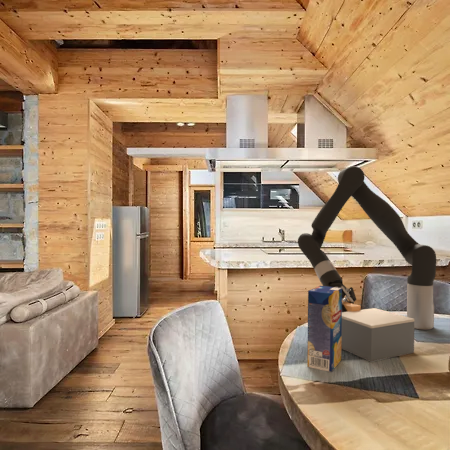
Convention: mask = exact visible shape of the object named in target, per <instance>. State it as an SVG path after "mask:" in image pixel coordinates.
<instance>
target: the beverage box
mask: <svg viewBox="0 0 450 450" xmlns="http://www.w3.org/2000/svg"><path fill="white" fill-rule="evenodd" d="M342 302H343V300H342V288H337V287H328V286H323V285H319V286H316V287H315V288H312V289H310V290H308V291H307V364H306V365H307V368H312V369H315V370H321V371H324V372H329V373H332V372H333V370H335V368H336V367H337V365H339V363H340V362H341V361H342V349H341V342H342Z"/></svg>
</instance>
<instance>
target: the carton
mask: <svg viewBox="0 0 450 450" xmlns="http://www.w3.org/2000/svg"><path fill="white" fill-rule="evenodd" d="M341 350H344V351H347V353H350V354H352V353H353V354H352V355H356V356H357V357H359V358H361V359H364V360H366V361H368V362H371V363H372V362H377V361H382V360H385V359H391V358H395V357H399V356H400V357H401V356H404V355H409V354H413V353H415V328H414V322H408V323H402V324H396V325H390V326H383V327H377V328H369V327H366V326H363V325H360V324H357V323H354V322H351V321H348V320H346V319H343V318H342V342H341Z"/></svg>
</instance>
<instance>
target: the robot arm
mask: <svg viewBox="0 0 450 450" xmlns="http://www.w3.org/2000/svg"><path fill="white" fill-rule="evenodd" d="M364 180H365V173H364V171H363V169H362V168H361V167H358V166H353V165H352V166H348V167H345V168H343V169H342V170H340V171H339V173H338V176H337V182H338V184H337V185H336V186H337V187H336V189H335V190H334V192H333V193H332V194H331V196H330V197H329V199H328V200H327V201H326V202H325V204H324V205H323V206H322V208H321V209H320V210H319V211H318V213H317V215H316V216H315V218H314V220H313V221H312V223H311V228H312V232H311V233H309V232H304V233H302V234H300V235H299V237H298V238H297V245H298V247H299V250H300V251H301V252H302V254H303V255H304V256H305V257H306V259H307V260H308V262H310V264H311V266H312V268H313V269H314V272H315V274H316V276H317V278H318V280H319V281H320V283H321V286H328V287H337V288H342V302H349V303H352V304H355V302H356V301H357V297H356V294H355V290H354V288H353V287H351V286H350V287H346V286H345V284H344V283H343V278H342V276H341V275H340V273H339V272H338V270H337V269H336V267H335V266H334V264H333V263H332V262H331V260H330V258H329V257H328V255H327V254H326V252H325V251H323V250H322V247H323V244H324V241H325V239H326V235H327V233H328V231H329V230H330V228H331V226H332V225H333V223H334V222H335V220H336V219H337V217H338V215H339V213H340V212H341V211H342V209H343V208H344V206H345V204H347V202H348V200H349V199H350V198H351V197H352V198H353V199H354V200H355V202H356V203H358V204H359V206H360V207H361V209H362V210H363V212H365V214H366V215H367V216H368V218H369V219H370V220H371V221H372V223H374V224H375V226H376V227H377V228H378V229H379V230H380V231H381V232H382V234H384V235H385V236H386V238H387V239H389V241H390V242H391V243H392V244H393V245H394V246H395V247H396V249H397V251H399V253H400V254H401V256H402V258H403V259H404V260H405V261H406V263H407V264H408V265H411V273H410V275H408V276H407V277H406V278H407V279H406V280H407V281H406V283H407V284H406V285H407V286H406V293H407V294H406V297H407V298H406V317H409V318H413V319H414V329H416V330H424V331H425V330H432V329H434V327H435V304H434V280H435V279H436V273H437V255H436V251H435V250H434V248H433V247H432V246H430V245H425V244H420V243H418V242H417V241H416V240H415V239H414V237H412V236H411V235H410V233H408V231H407V229H406V227H405V224H404V222H403V220H402V218H401V216H400V215H399V214H398V212H396V210H395V209H394V208H393V206H391V205H390V203H389V202H387V201H386V200H384V198H382V197H381V196H379V195H378V194H377V193H375V192H374V191H373V190H372V189H371V188H369V186H368V185H367V184H366V182H365V181H364ZM342 312H348V311H347V310H346V308H345V306H344V305H343V304H342Z"/></svg>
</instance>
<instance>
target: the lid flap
mask: <svg viewBox="0 0 450 450" xmlns="http://www.w3.org/2000/svg"><path fill="white" fill-rule="evenodd" d="M342 304H343V305H344V306H345V308H346V310H347V311H348V312H342V318H343V319H346V320H348V321H351V322H354V323H357V324H360V325H363V326H366V327H369V328H377V327H383V326H390V325H396V324H402V323H408V322H414V319H413V318H409V317H407V316H405V315H402V314H398V313H394V312H391V311H387V310H382V309H381V308H380V309H379V308H376V307H372V308H364V309H362V308H361V305H360V304H359V305H358V304H356V303H354V304H352V303H349V302H345V301H342Z"/></svg>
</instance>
